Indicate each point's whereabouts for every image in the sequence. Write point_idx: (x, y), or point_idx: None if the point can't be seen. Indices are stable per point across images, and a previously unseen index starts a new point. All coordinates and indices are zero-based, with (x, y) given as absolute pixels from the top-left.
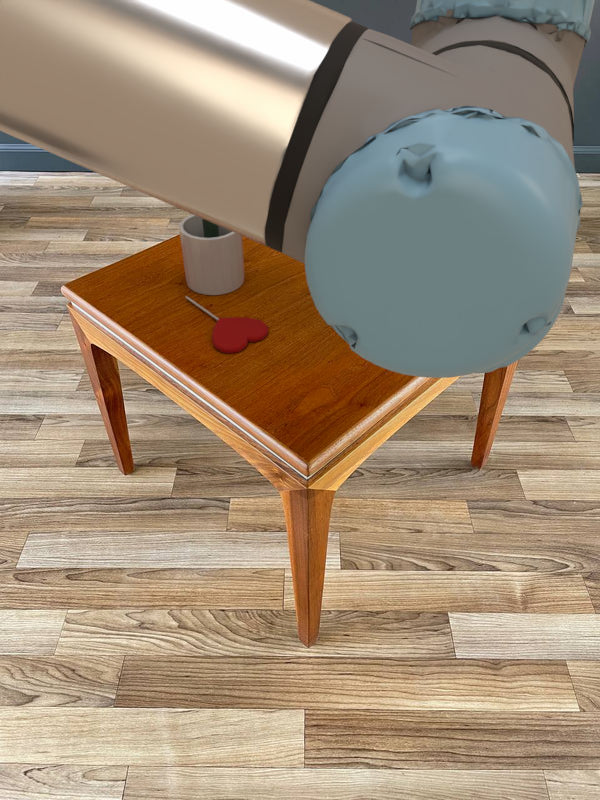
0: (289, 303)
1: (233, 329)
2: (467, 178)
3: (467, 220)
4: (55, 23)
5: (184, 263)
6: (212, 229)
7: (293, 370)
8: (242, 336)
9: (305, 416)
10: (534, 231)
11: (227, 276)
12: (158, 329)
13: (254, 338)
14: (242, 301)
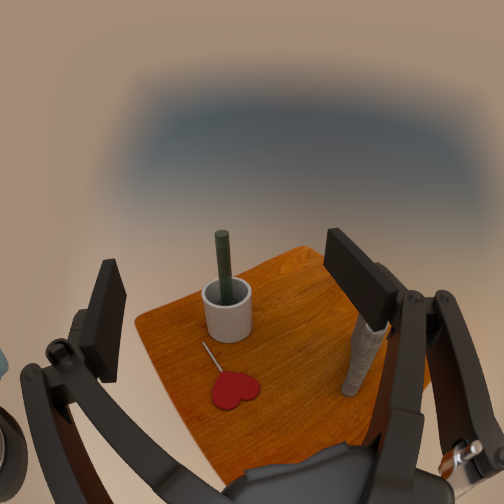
0: (283, 359)
1: (230, 386)
2: None
3: None
4: None
5: (205, 316)
6: (227, 296)
7: (273, 437)
8: (236, 395)
9: None
10: None
11: (236, 332)
12: (175, 371)
13: (246, 398)
14: (245, 352)
